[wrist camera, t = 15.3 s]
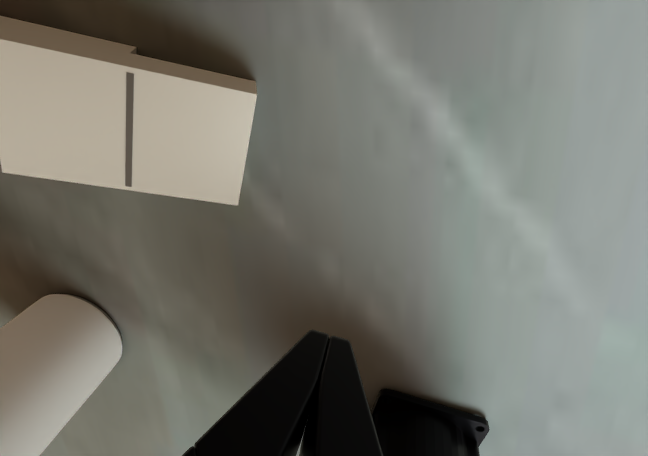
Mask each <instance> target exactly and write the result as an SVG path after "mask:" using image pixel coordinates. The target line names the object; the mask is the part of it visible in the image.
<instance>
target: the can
mask: <svg viewBox="0 0 648 456" xmlns="http://www.w3.org/2000/svg"><path fill="white" fill-rule="evenodd" d="M121 355H122V338H121V335H120V332H119V330H118V328H117V326H116V325H115V323H114V322H113V320H112V319H111V318H110V317H109V316H108V315H107V314H106V313H105V312H104V311H103V310H102V309H100V308H99V307H98V306H96V305H95V304H93V303H91V302H90V301H88V300H86V299H83V298H81V297H78V296H74V295H69V294H51V295H47V296H44V297H42V298H40V299H39V300H37V301H36V302H35V303H33V304H32V305H31V306H29V307H28V308H27V309H25V310H24V311H23V312H21V313H20V314H19V315H17V316H16V317H15V318H13V319H12V320H11V321H10V322H8V323H7V324H6V325H4V326H3V327H2V328H0V456H40V454H41V453H42V452H43V451H44V450H45V448H46V447H47V446H48V445H49V444H50V443H51V441H52V440H53V439H54V438H55V437H56V435H57V434H58V433H59V432H60V431H61V429H62V428H63V427H64V426H65V425H66V424H67V422H68V421H69V420H70V419H71V418H72V416H73V415H74V414H75V413H76V412H77V411H78V409H79V408H80V407H81V406H82V405H83V403H84V402H85V401H86V400H87V399H88V397H89V396H90V395H91V394H92V393H93V392H94V390H95V389H96V388H97V387H98V386H99V384H100V383H101V382H102V381H103V380H104V378H105V377H106V376H107V375H108V374H109V372H110V371H111V370H112V369H113V367H114V366H115V365H116V364H117V362H118V361H119V360H120V358H121Z"/></svg>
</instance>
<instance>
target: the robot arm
mask: <svg viewBox="0 0 648 456" xmlns="http://www.w3.org/2000/svg"><path fill="white" fill-rule="evenodd" d="M306 422H307V423H306ZM305 426H306V427H305ZM304 429H305V430H304ZM488 432H489V425H488V421H487V420H486V419H484V418H482V417H479V416H475V415H472V414H469V413H465V412H462V411H459V410H456V409H452V408H449V407H446V406H442V405H439V404H436V403H432V402H429V401H426V400H423V399H419V398H416V397H413V396H409V395H406V394H403V393H399V392H396V391H393V390H389V389H383V390H381V391H380V392H379V394H378V397H377V399H376V402H375V404H374V407H373V409H372V411H371V412H370V409H369V405H368V402H367V398H366V395H365V391H364V388H363V384H362V381H361V377H360V374H359V370H358V367H357V363H356V360H355V356H354V353H353V349H352V346H351V343H350V341H349V340H347V339H343V338H340V337H336V336H331V337H330V339H329V335H328V334H326V333H323V332H319V331H316V330H310V331H309V332H307V333H306V334H305V335H304V336H303V337H302V338H301V339H300V340H299V341H298V342H297V343H296V344H295V345H294V346H293V347H292V348H291V349H290V350H289V351H288V352H287V353H286V354H285V355H284V356H283V357H282V358H281V359H280V360H279V361H278V362H277V363H276V364H275V365H274V366H273V367H272V368H271V369H270V370H269V371H268V372H267V373H266V374H265V375H264V376H263V377H262V378H261V379H260V380H259V381H258V382H257V383H256V384H255V385H254V386H253V387H252V388H251V389H250V390H248V391H247V392H246V393H245V394H244V395H243V396H242V397H241V398H240V399H239V400H238V401H237V402H236V403H235V404H234V405H233V406H232V407H231V408H230V409H229V410H228V411H227V412H226V413H225V414H224V415H223V416H222V417H221V418H220V419H219V420H218V421H217V422H216V423H215V424H214V425H213V426H212V427H211V428H210V429H209V430H208V431H207V432H206V433H205V434H204V435H203V436H202V437H201V438H200V439H199V440H198V441H197V442H196V443H195V447H193V446H192V447H190V448H189V449H188V450H187V451H186V452H185V453H184V454H183V455H182V456H296V454H297V451H298V448H299V446H300V443H301V439H302V436H303V439H302V443H301V448H300V454H299V456H480V455H479V448H478V447H479V445H480V444H481V442H482V441H483V439H484V438H485V436H486V435H487V433H488ZM303 433H304V434H303Z"/></svg>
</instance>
